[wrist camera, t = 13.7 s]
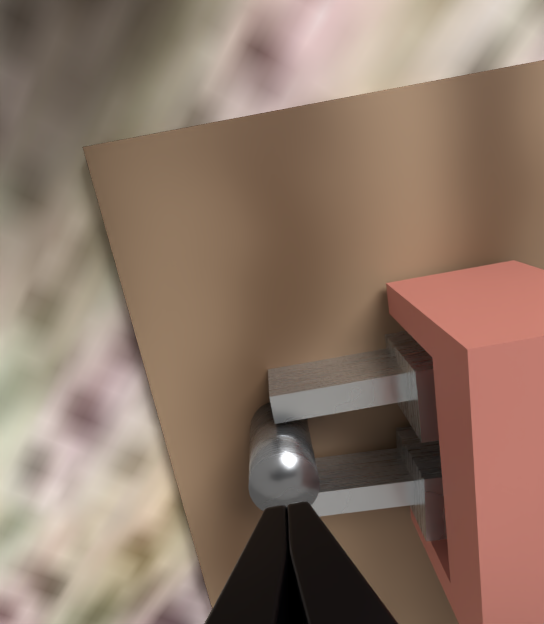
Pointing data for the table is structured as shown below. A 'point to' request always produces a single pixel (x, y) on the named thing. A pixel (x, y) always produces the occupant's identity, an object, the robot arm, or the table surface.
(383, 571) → the board
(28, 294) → the table surface
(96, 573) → the table surface
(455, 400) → the pink u-shaped block
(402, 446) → the tongs jaw
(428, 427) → the tongs fixed
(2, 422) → the table surface
